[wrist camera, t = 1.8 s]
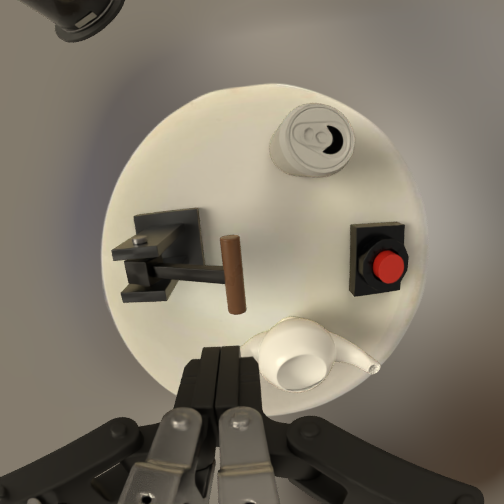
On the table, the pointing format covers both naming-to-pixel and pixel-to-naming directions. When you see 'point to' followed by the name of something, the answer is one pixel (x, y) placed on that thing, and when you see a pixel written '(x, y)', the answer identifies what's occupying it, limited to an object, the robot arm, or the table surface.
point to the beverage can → (312, 141)
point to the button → (388, 266)
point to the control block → (374, 255)
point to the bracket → (162, 248)
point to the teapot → (302, 354)
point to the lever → (197, 272)
